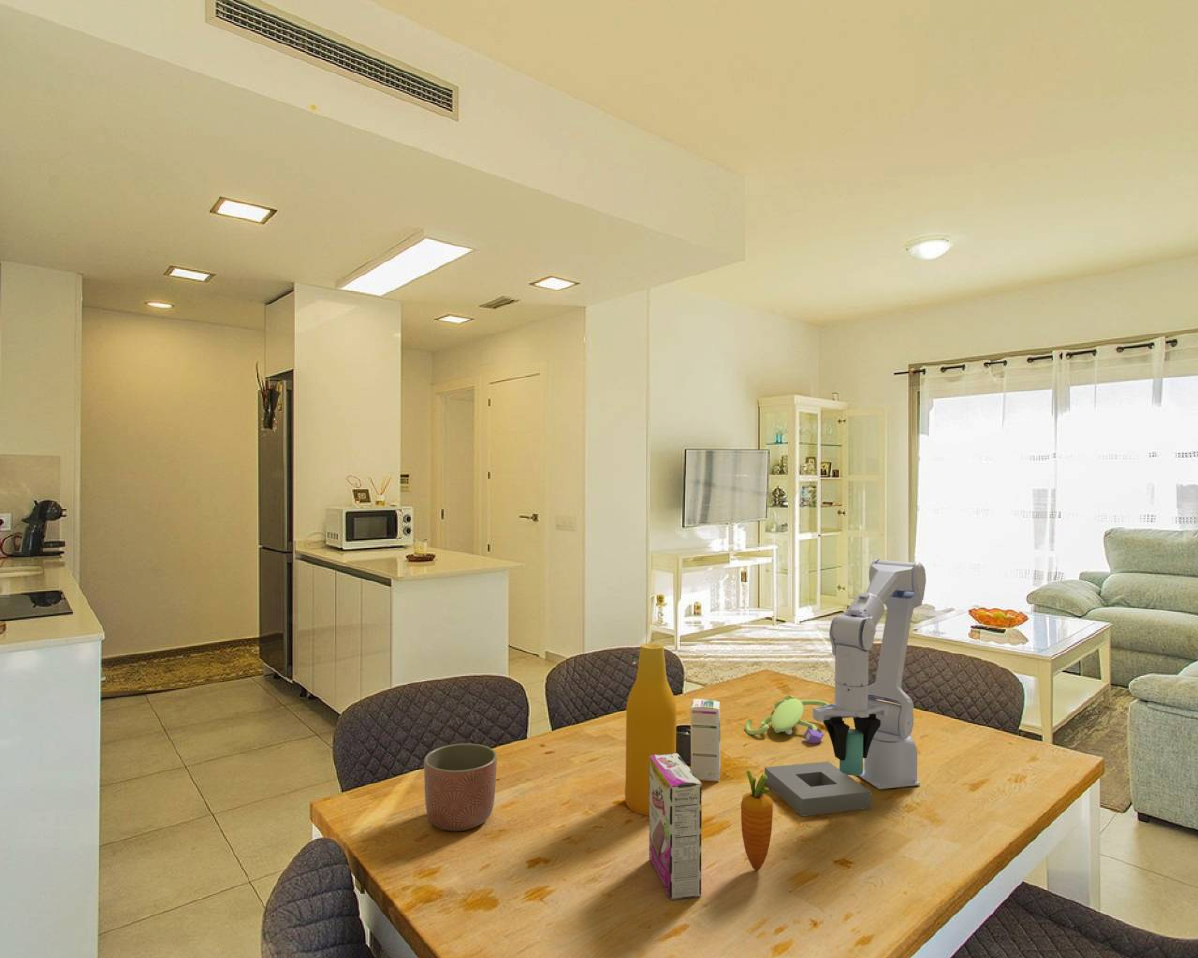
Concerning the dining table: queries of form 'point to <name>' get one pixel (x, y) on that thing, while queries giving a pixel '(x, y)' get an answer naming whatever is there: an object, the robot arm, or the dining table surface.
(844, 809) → the socket
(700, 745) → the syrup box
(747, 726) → the figurine
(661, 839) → the candy bar box
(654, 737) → the beer bottle
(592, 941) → the dining table surface
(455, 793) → the planter
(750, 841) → the carrot
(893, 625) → the robot arm
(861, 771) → the peg
